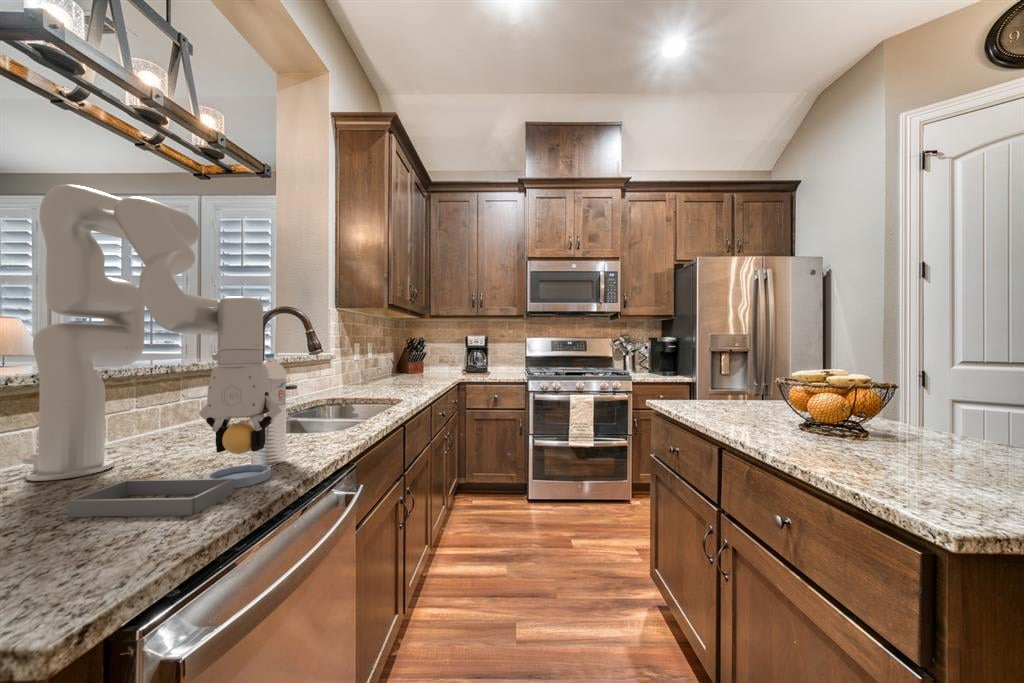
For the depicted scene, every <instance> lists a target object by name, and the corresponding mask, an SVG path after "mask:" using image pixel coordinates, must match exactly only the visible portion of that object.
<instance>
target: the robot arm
mask: <svg viewBox="0 0 1024 683" xmlns="http://www.w3.org/2000/svg"><path fill="white" fill-rule="evenodd" d="M39 224H40V228H41V231H42V235H43V239H44V242H45V249H46V256H45V257H46V259H45V260H46V261H45V262H46V263H45V300H46V304H47V307H48V308H49V310H50V311H52V312H53V313H56V314H58V315H61V316H66V317H67V316H68V317H76V318H86V319H87V318H88V319H103V322H104V324H96V323H79V322H78V323H77V322H61V323H55V324H54V323H53V324H50V325H45V326H44V327H42V328H41V329H40V330H39V331H38V332H36V334H35V335H34V338H33V340H32V350H33V354H34V358H35V362H36V366H37V372H38V381H39V382H38V383H39V397H38V398H39V399H38V400H39V406H38V407H39V411H38V412H39V413H38V416H39V417H38V418H39V419H38V450H37V452H34V453H32V454H31V453H30V455H29V457H28V456H27V457H24V458H23V459H22V464H23V465H33V467H32V468H33V469H32V470H29V471H28V472H27V473H25V479H26V480H27V481H33V482H37V481H38V482H43V481H44V482H45V481H46V482H49V481H56V480H57V481H58V480H66V479H72V478H78V477H83V476H87V475H88V476H89V475H93V473H94V474H96V473H97V472H98V473H101V472H104V470H105V471H107V470H109V468H110V469H111V467H112V468H113V467H114V466H115V460H113V459H110V458H105V439H106V438H105V437H106V435H105V434H106V431H105V430H106V385H105V383H104V380H103V379H102V377H101V376H100V375H99V374H98V372H97V371H96V370H95V368H100V367H101V368H104V367H105V368H108V367H109V368H111V367H122V366H123V367H124V366H128V365H132V364H134V363H135V362H137V361H138V360H139V359H140V358H141V356H142V354H143V351H144V344H145V312H146V311H145V308H146V309H147V310H148V312H149V314H150V315H151V317H152V318H153V319H154V320H155V322H156V323H157V324H158V325H159V326H160V327H162V328H163V329H165V330H166V331H167V332H172V333H175V334H186V335H189V334H190V335H203V336H204V335H205V336H206V335H207V336H210V335H211V336H217V353H213V354H212V356H211V359H212V361H216V362H217V363H216V364H217V366H212V370H211V373H210V377H209V381H208V388H207V396H206V405H204V407H203V408H202V409H200V411H199V412H198V414H199V416H200V417H201V418H202V419H204V420H205V421H206V423H207V424H208V425H209V426H210V427H211V430H212V432H213V433H215V447H216V453H223V452H225V451H227V450H226V449H225V448H224V446H223V444H222V437H223V434H224V432H225V431H226V430H227V429H228V428H229V425H230V422H231V420H232V419H234V418H235V419H237V418H238V419H241V418H243V419H245V418H249V419H250V423H251V422H252V423H251V424H253V427H254V431H252V432H251V450H250V452H251V451H253V452H255V451H258V450H260V449H263V448H264V445H265V428H267V427H268V425H269V424H270V423H271V422H272V421H273V420H274V419H275V418H276V417H277V416H278V415H279V414H280V413H281V412H282V410H281V409H280V408H279V407H278V406H277V405H276V404H275V403H274V402H273V401H272V400H271V392H270V382H269V376H268V372H267V368H266V366H263V361H264V304H263V303H262V301H261V300H260V299H258V298H256V297H251V296H250V297H249V296H239V295H238V296H237V295H235V296H233V295H232V296H225V297H222V298H220V299H219V298H214V297H213V298H212V297H207V296H201V295H194V294H186V293H184V292H183V291H182V289H181V288H180V287H179V285H178V284H177V282H176V281H175V279H174V277H176V276H179V275H181V274H183V273H185V272H187V271H188V270H190V269H191V268H192V267H193V265H194V264H195V262H196V254H195V253H194V251H193V249H192V248H191V247H192V246H193V245H194V244H196V242H197V241H198V238H199V232H200V231H199V226H198V224H197V223H196V221H195V219H194V218H193V216H191V215H190V214H188V213H187V212H186V211H184V210H180V209H178V208H176V207H172V206H169V205H167V204H164V203H161V202H159V201H156V200H153V199H150V198H146V197H142V196H129V197H125V198H121V197H117V196H115V195H111V194H109V193H106V192H103V191H100V190H97V189H93V188H90V187H86V186H81V185H76V184H60V185H55V187H52V188H51V189H50V190H48V191H47V192H46V194H45V195H44V196H43V199H42V200H41V202H40V205H39ZM91 232H97V233H101V234H104V235H107V236H112V237H116V238H120V239H123V240H128V242H129V243H130V245H131V246H132V248H133V249H134V251H135V252H136V254H137V256H138V257H139V258H140V260H141V262H142V263H143V265H144V267H143V269H142V271H141V272H140V274H139V275H140V276H139V281H138V286H137V285H135V284H134V283H133V282H130V281H128V280H125V279H120V278H113V277H108V276H107V275H106V273H105V261H106V260H105V254H104V252H103V250H102V248H101V246H100V244H99V242H98V241H97V240H96V239H95V238H94V237H93V235H92V234H91ZM269 411H270V413H269V414H268V415H267V416H266V417H265V415H264V414H265V413H268V412H269ZM106 469H107V470H106Z"/></svg>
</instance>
